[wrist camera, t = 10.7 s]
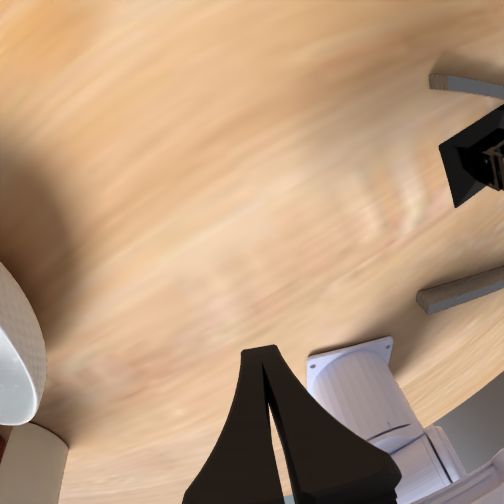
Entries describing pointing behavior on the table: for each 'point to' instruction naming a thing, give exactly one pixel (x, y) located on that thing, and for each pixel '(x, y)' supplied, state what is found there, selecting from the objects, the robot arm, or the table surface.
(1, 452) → the plant pot
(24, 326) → the cereal bowl
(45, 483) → the travel mug
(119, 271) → the table surface
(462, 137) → the build plate
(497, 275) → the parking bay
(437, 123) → the table surface
